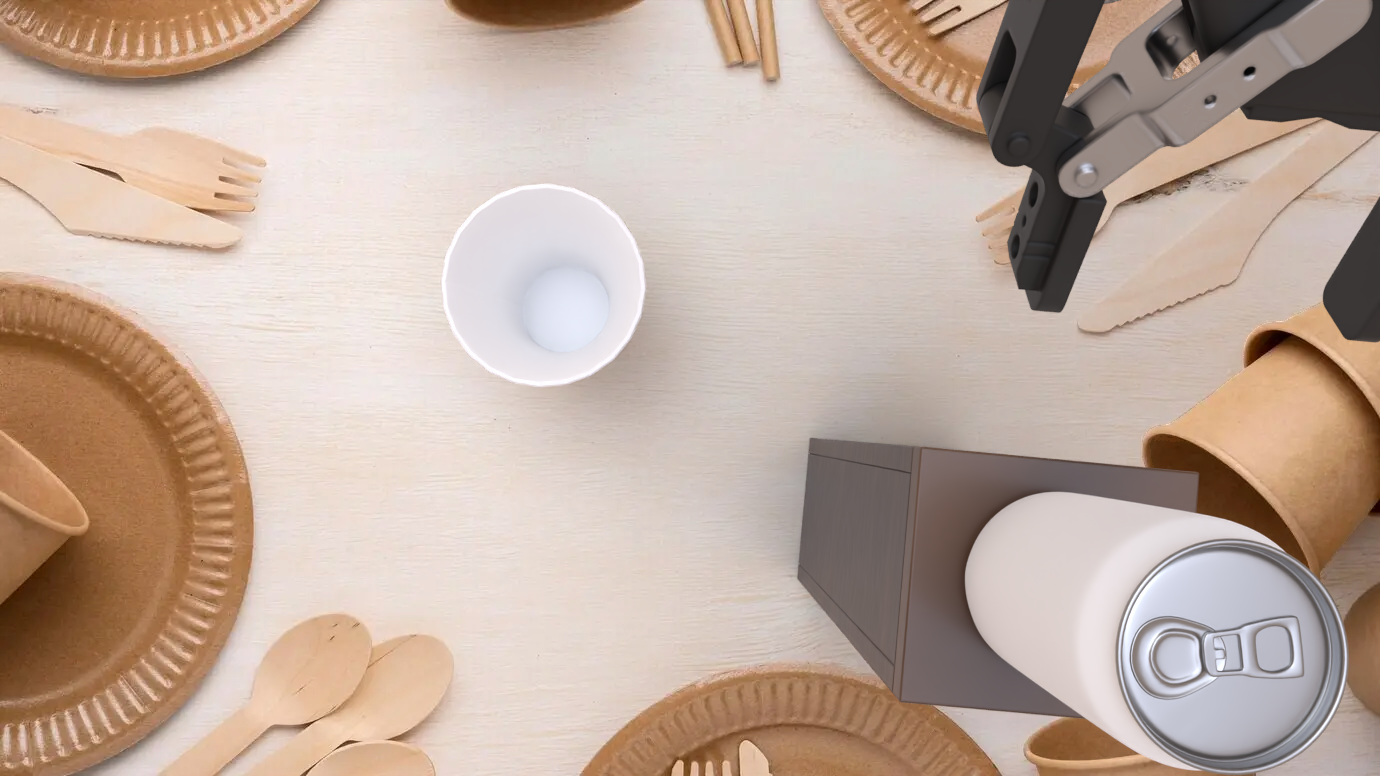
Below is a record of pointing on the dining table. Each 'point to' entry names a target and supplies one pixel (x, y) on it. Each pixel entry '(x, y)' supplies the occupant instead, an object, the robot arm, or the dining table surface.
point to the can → (1162, 628)
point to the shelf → (939, 538)
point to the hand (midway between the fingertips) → (1193, 308)
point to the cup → (543, 285)
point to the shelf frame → (857, 541)
